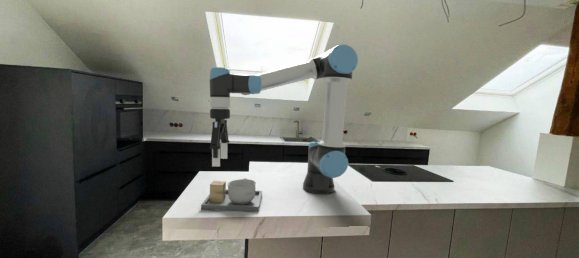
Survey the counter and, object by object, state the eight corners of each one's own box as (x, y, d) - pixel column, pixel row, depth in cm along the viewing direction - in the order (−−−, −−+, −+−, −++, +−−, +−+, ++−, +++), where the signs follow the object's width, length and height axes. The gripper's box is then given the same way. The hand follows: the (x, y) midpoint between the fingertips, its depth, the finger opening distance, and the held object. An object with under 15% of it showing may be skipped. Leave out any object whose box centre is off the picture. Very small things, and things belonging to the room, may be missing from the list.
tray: (261, 194, 114) (262, 190, 114) (258, 211, 97) (258, 206, 96) (213, 193, 114) (213, 189, 113) (200, 209, 96) (201, 204, 96)
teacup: (249, 208, 97) (250, 187, 97) (222, 205, 99) (222, 184, 99) (260, 196, 111) (261, 178, 110) (236, 193, 113) (237, 175, 112)
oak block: (213, 197, 107) (213, 180, 107) (225, 197, 107) (225, 181, 107) (209, 201, 102) (209, 184, 102) (222, 202, 102) (222, 184, 102)
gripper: (217, 107, 114) (218, 155, 116) (200, 108, 89) (201, 169, 91) (235, 108, 114) (235, 155, 116) (222, 109, 89) (222, 170, 91)
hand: (220, 162), depth 104 cm, fingers open, 13 cm apart
